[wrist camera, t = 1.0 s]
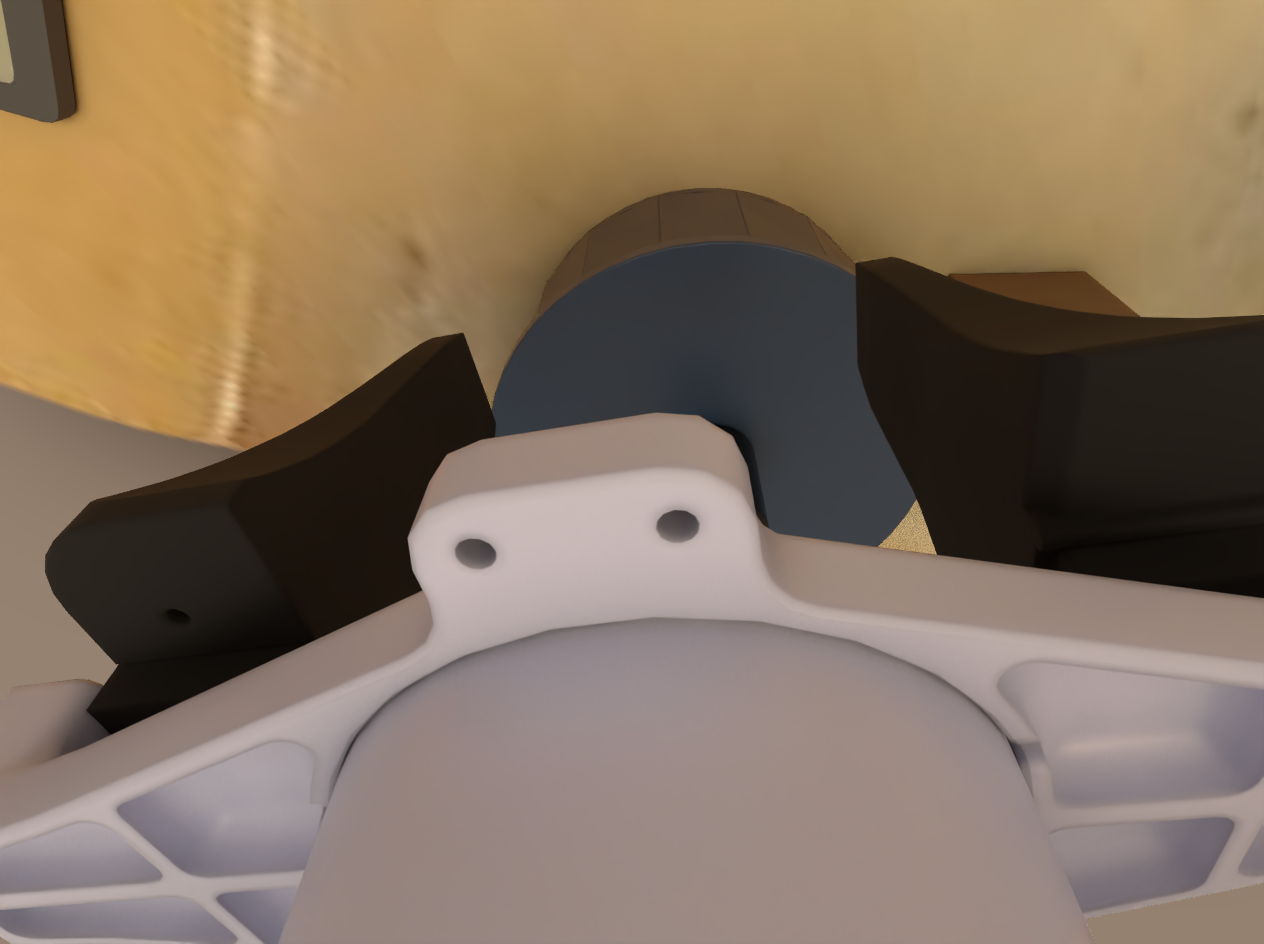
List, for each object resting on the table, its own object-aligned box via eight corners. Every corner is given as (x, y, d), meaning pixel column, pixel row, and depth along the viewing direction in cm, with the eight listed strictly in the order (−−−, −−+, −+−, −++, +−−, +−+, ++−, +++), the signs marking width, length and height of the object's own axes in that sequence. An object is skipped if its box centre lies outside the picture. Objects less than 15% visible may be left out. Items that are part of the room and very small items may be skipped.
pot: (935, 256, 23) (1001, 335, 19) (780, 518, 30) (803, 622, 25) (587, 133, 21) (570, 190, 17) (502, 442, 28) (475, 540, 23)
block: (1086, 270, 23) (1159, 331, 20) (1045, 387, 26) (1104, 459, 22) (949, 273, 23) (999, 334, 20) (922, 390, 26) (962, 461, 23)
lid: (1020, 314, 19) (1104, 404, 16) (807, 621, 26) (831, 732, 23) (557, 153, 17) (533, 216, 13) (460, 535, 24) (427, 642, 20)
